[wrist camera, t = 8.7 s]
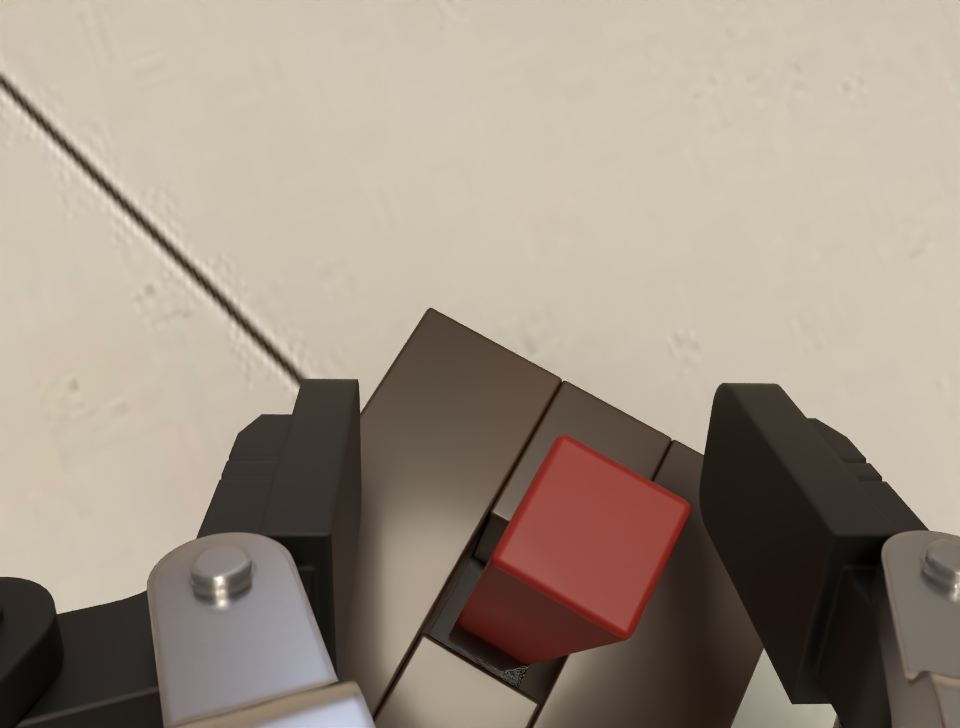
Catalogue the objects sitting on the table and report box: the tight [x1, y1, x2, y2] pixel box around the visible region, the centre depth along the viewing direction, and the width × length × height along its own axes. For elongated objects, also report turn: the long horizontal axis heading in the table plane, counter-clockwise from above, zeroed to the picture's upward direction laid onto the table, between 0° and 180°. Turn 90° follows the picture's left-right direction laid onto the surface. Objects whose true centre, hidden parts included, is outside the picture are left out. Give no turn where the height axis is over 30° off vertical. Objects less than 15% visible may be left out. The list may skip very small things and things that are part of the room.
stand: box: [342, 308, 764, 728], centre depth 17 cm, size 8×8×5 cm
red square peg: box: [449, 434, 691, 671], centre depth 13 cm, size 1×1×12 cm
